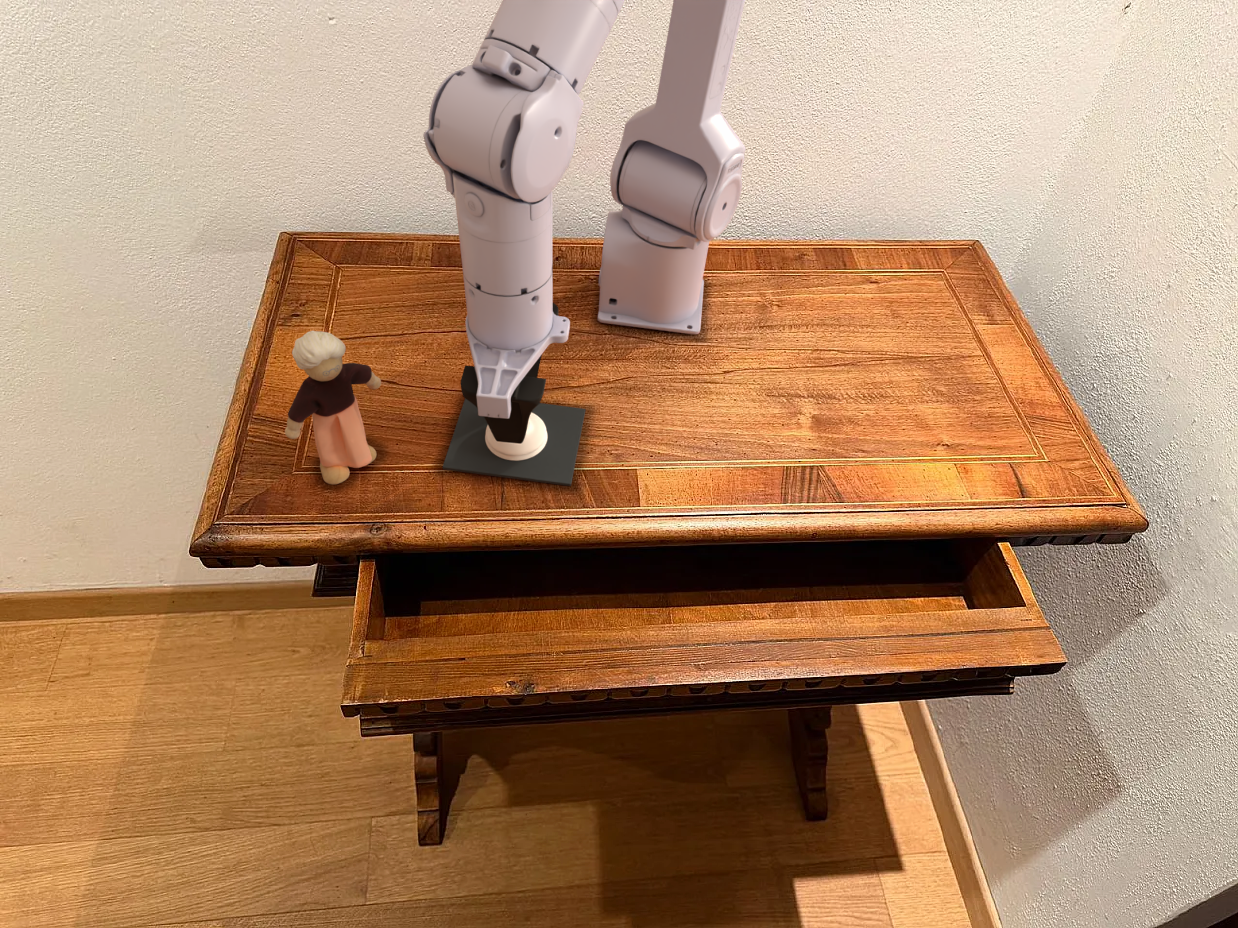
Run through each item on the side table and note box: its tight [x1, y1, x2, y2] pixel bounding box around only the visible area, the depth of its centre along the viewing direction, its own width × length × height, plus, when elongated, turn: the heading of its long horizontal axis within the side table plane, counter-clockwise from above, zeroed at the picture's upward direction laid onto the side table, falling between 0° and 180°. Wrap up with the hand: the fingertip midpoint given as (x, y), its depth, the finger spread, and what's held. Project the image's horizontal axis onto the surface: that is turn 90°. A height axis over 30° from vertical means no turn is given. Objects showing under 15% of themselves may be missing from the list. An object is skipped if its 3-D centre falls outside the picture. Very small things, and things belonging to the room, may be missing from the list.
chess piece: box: [485, 412, 547, 461], centre depth 60 cm, size 5×5×10 cm
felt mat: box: [442, 398, 586, 487], centre depth 64 cm, size 10×8×1 cm
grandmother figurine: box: [284, 330, 382, 485], centre depth 57 cm, size 8×4×13 cm, turn 148°
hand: (515, 412), depth 61 cm, fingers open, 5 cm apart
